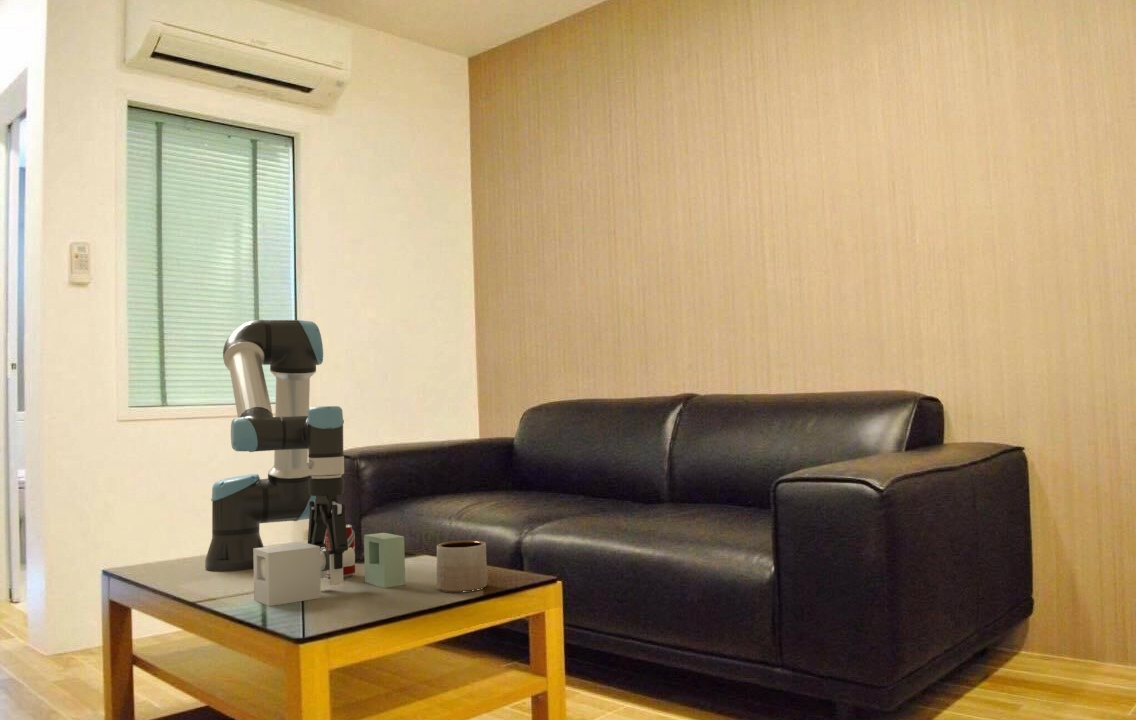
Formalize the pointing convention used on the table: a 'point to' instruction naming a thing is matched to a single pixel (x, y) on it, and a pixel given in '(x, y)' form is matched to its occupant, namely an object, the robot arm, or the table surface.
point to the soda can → (348, 570)
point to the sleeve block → (287, 573)
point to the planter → (461, 566)
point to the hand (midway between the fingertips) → (327, 581)
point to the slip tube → (323, 560)
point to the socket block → (384, 559)
